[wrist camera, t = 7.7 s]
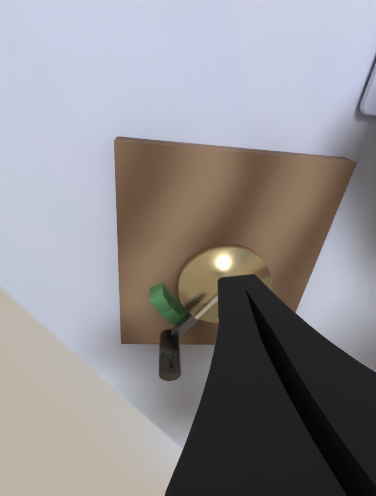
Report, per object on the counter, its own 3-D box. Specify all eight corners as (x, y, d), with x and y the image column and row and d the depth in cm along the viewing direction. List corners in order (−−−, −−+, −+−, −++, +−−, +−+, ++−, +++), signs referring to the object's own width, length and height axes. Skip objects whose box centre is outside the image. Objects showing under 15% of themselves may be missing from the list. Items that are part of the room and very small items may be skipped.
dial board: (345, 157, 17) (374, 170, 15) (277, 334, 25) (289, 360, 23) (117, 136, 16) (109, 146, 13) (123, 332, 24) (118, 360, 21)
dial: (220, 226, 16) (231, 255, 13) (287, 274, 18) (308, 307, 15) (129, 325, 19) (123, 363, 17) (194, 355, 22) (198, 393, 19)
